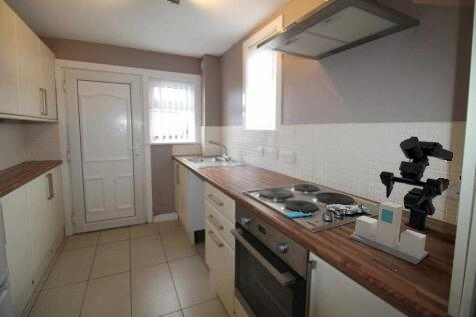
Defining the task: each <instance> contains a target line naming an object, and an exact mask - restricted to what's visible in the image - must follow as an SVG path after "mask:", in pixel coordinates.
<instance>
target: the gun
mask: <svg viewBox="0 0 476 317" xmlns="http://www.w3.org/2000/svg"><path fill="white" fill-rule="evenodd" d="M358 205H359V204H356V205H351V204H349V205H348V204H347V205H346V204H339V203H337V204H328V205H326V207H325V211H326V210H327V211H331V210H335V209H347V210H351V211H356V210H357V209H358ZM349 208H350V209H349ZM362 208H363V210H364V212H367V213H369V212H371V209H370V208H368V207H366V206H363V205H362Z"/></svg>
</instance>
